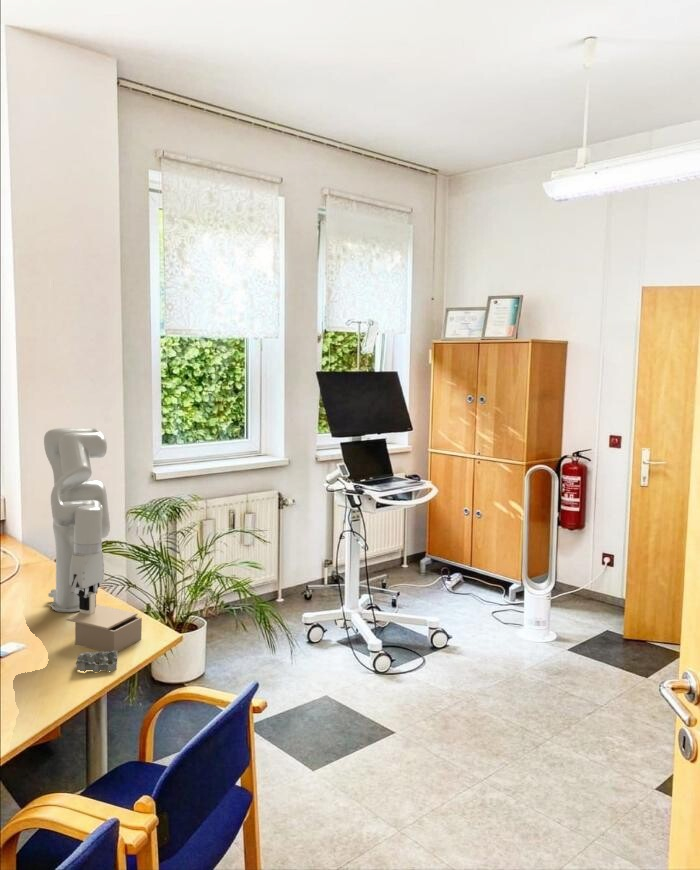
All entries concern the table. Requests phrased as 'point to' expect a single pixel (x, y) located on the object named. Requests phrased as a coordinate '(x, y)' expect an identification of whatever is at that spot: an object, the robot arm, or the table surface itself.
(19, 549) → the table surface
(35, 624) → the table surface
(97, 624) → the lid
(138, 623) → the carton
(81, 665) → the egg carton
